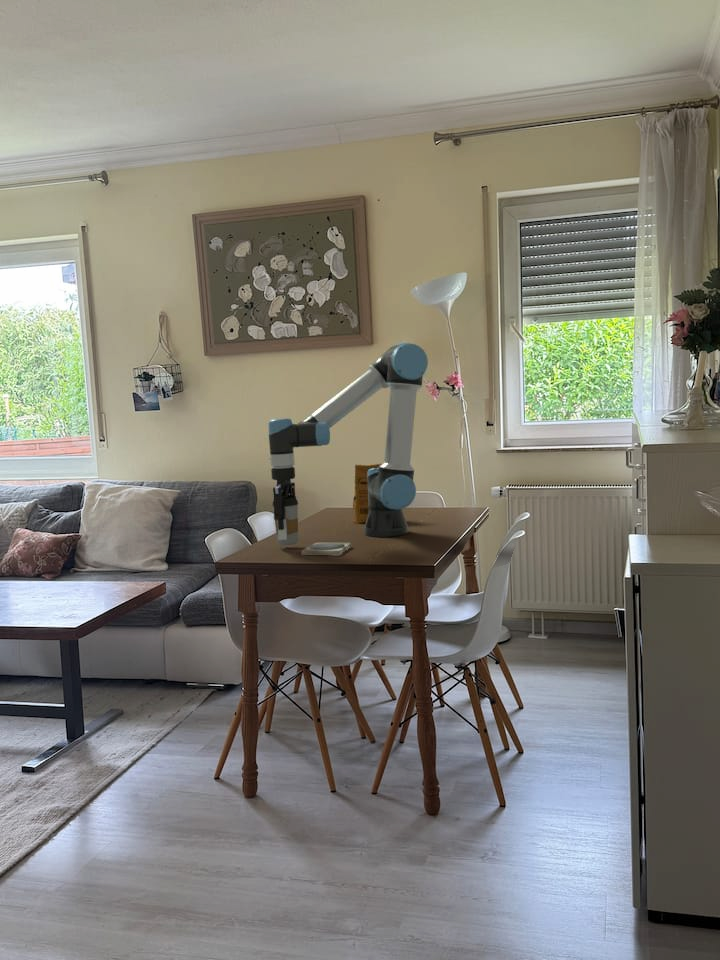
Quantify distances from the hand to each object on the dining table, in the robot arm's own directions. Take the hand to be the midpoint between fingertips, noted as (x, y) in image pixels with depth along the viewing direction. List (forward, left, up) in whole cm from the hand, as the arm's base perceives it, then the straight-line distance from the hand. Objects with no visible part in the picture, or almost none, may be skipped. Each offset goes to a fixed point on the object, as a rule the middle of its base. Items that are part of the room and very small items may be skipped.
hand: (287, 537), depth 278 cm
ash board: (+4, +15, -4) cm, 16 cm away
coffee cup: (0, 0, -2) cm, 2 cm away
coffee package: (-55, +13, -4) cm, 56 cm away
